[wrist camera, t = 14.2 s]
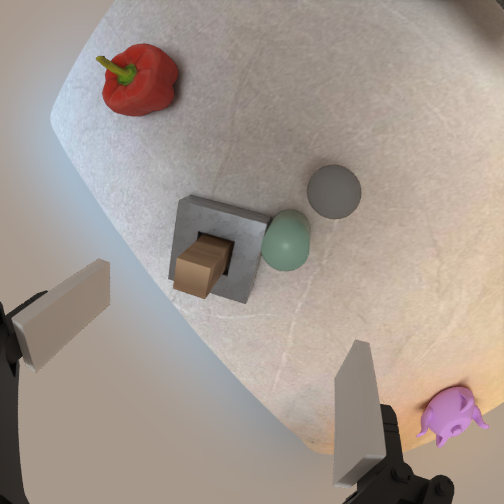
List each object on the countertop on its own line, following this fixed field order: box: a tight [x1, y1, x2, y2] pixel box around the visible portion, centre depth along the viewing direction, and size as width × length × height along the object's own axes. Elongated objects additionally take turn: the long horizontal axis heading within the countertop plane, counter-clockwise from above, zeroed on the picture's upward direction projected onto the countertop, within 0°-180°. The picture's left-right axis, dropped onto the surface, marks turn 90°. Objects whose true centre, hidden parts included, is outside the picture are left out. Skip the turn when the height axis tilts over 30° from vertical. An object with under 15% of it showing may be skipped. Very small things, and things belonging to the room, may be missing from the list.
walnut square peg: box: [173, 233, 235, 299], centre depth 39 cm, size 4×4×12 cm
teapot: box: [416, 387, 489, 447], centre depth 44 cm, size 12×14×9 cm
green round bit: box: [261, 210, 310, 271], centre depth 38 cm, size 6×6×8 cm
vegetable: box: [96, 44, 178, 116], centre depth 34 cm, size 11×10×10 cm
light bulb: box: [307, 165, 361, 219], centre depth 34 cm, size 6×6×10 cm
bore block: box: [168, 195, 271, 304], centre depth 43 cm, size 12×12×4 cm
